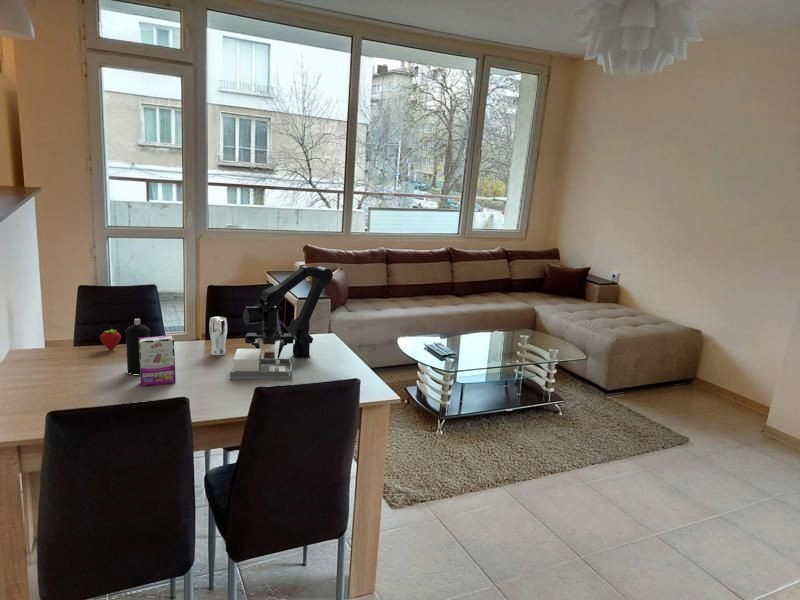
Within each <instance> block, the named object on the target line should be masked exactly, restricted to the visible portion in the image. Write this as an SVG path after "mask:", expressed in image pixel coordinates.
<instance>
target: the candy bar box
mask: <svg viewBox="0 0 800 600" xmlns="http://www.w3.org/2000/svg"><path fill="white" fill-rule="evenodd" d="M139 357H140V375H139V376H140V386H141V387H142V386H144V387H151V385H153V386H160V385H169V384H175V383H176V382H177V381H176V362H175V359H176V358H175V339H174V335H172V334H171V335H160V336H159V335H158V336H150V337H146V338H139Z"/></svg>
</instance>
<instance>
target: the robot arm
mask: <svg viewBox="0 0 800 600" xmlns="http://www.w3.org/2000/svg"><path fill="white" fill-rule="evenodd" d="M308 277H311V287H310V288H309V292H308V294H307V296H306V299H305V301H304V303H303V305H302V308H301V310H300V313H299V315H298V316H297V317H296V318H292V319H291V321H290V324H289V325H288V326H287V327H288V332H287V333H286V332H285V333H283V335H281V331H278V313H279V311H283V310H284V309H283V307H281V305H280V303H281V302H282V300H284V298H285V296H286V295H287V293H289V292H290V291H291V290H292V289H294V288H295V287H296V286H297V285H299V284H300V283H301V282H303V281H304V280H305V279H307V278H308ZM333 277H334V273H333V271H332V270H331V268H327V267H324V266H317V267H313V266H307V265H301V266H300V267H299V268H298V269H297V270H295V272H293V273H292V274H290V275H289V276H287V277H286V278H285V279H284V280H282V281H281V282H279V283H278V284H276V285H274V286H270V287H268V288H266V289H264V290H262V292H261V294H260V297H259V299H258V300H257V302H255V305H254V306H245V307H244V309H245V310H244V311H243V314H242V320H243V322H244V324H245V325H253V324H260V323H262V331H261V335H257V333H256V332H247V333H246V335H245V338H244V343H245V344H251V346H254V347H255V349H261V350H262V346H261V341H262V345H265V346H267V345H275V344H276V342H279V345H278V349H277V350H278V352H277V359H280V356H281V355H282V351H283V349H284V347H285V346H288V344H290V345H292V355H293V358H310V357H311V356H310V355H311V354H310V349H311V348H310V347H311V346H310V344H312V343H313V341H314V338H313V337H312V336H311V335H310V333H309V331H310V326H311V325H310V322H311V321H310V320H311V318H312V316H313V314H314V311H315V309H316V307H317V304H318V301H319V299H320V296H321V295H322V293H323V290H324V289H325V288H326V287H327V286H329V284H330V283H331V281H332V280H333Z"/></svg>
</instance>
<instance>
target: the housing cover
mask: <svg viewBox="0 0 800 600" xmlns="http://www.w3.org/2000/svg"><path fill="white" fill-rule="evenodd" d="M261 359H262V348H261V349H256V348H237V349H236V351H235V353H234V357H233V361H232V362H233V363H232V364H233V366H232V369H233V371H259V363H261Z"/></svg>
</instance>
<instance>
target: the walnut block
mask: <svg viewBox="0 0 800 600" xmlns="http://www.w3.org/2000/svg"><path fill="white" fill-rule="evenodd" d="M275 353H276V349H275V348H265V349H264V352H263V359H276V354H275Z"/></svg>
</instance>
